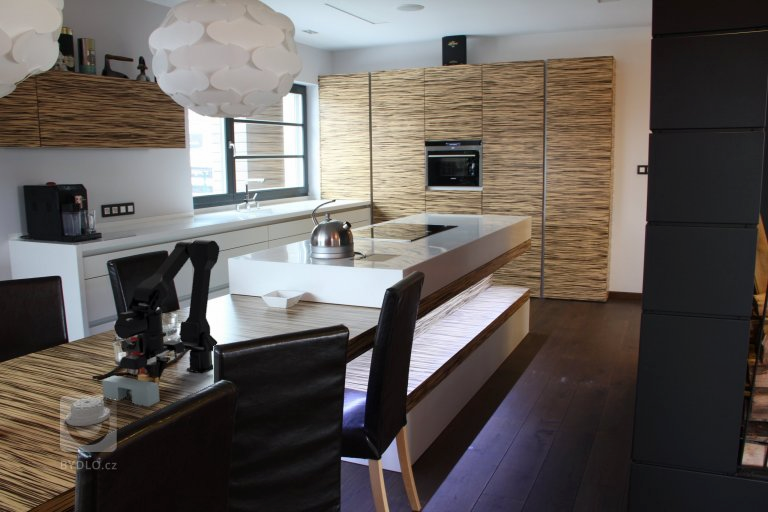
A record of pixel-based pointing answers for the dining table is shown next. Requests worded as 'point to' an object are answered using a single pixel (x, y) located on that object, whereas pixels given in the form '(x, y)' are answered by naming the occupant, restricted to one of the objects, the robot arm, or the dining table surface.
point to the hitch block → (141, 390)
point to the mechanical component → (87, 412)
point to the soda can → (142, 370)
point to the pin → (143, 378)
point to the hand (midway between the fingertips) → (155, 384)
